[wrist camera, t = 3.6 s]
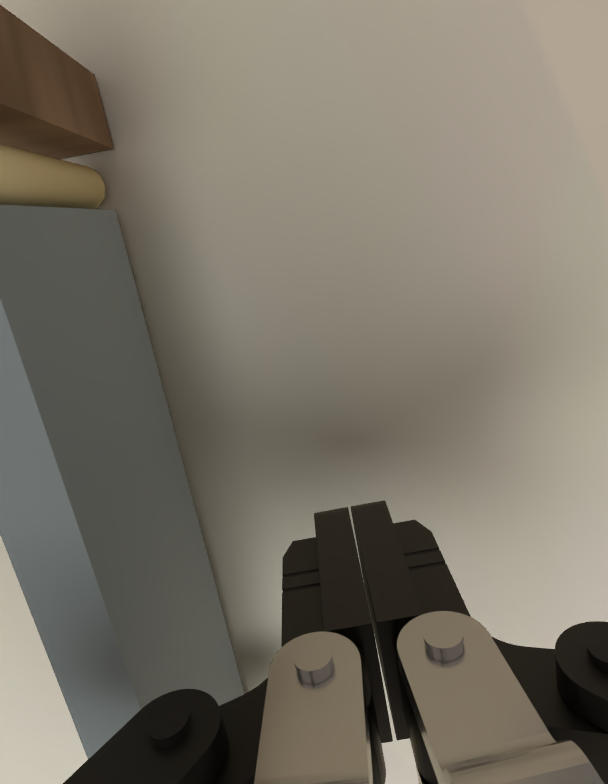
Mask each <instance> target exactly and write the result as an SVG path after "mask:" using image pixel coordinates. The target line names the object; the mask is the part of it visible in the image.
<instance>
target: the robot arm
mask: <svg viewBox="0 0 608 784" xmlns="http://www.w3.org/2000/svg"><path fill="white" fill-rule="evenodd" d="M351 512H352V518H353V523H354V529H355V535H356V540H357V546H358V552H359V558H360V563H361V567H360V563H359V558H358V553H357V548H356V544H355V539H354V534H353V529H352V525H351V520H350V515H349V510H348V507H346V508H340V509H334V510H329V511H323V512H317V513H314V519H315V530H316V537H315V538H309V539H303V540H297V541H293V542H292V544H291V545H290V547H289V548H288V550H287V552H286V553H285V555H284V557H283V578H282V590H283V593H282V648H281V649H280V650H279V651H278V652H277V653H276V655H275V656H274V658H273V660H272V662H271V665H270V669H269V675H268V678H267V679H266V680H265V681H263V682H262V683H261V684H260V685H259V686H257V687H256V688H254V689H253V690H251V691H250V692H248V693H246V694H244V695H242V696H240V697H237V698H235V699H233V700H231V701H229V702H226V703H224V704H222V705H220V706H218V704H217V702H216V700H215V699H214V698H213V697H212V696H211V695H209V694H208V693H206V692H204V691H201V690H197V689H180V690H176V691H172V692H169V693H166V694H164V695H162V696H160V697H158V698H156V699H154V700H153V701H151V702H150V703H148V704H147V705H146V706H144V707H143V708H142V709H141V710H140V711H139V712H138V713H137V714H136V715H135V716H133V717H132V718H131V719H130V720H129V721H128V722H127V723H126V724H125V725H124V726H123V727H122V728H121V729H120V730H119V731H118V732H117V733H116V734H115V735H114V736H112V737H111V738H110V739H109V740H108V741H107V742H106V743H105V744H104V745H103V746H102V747H101V748H100V749H99V750H98V751H97V752H96V753H95V754H94V755H93V756H91V757H90V758H89V759H88V760H87V761H86V762H85V763H84V764H83V765H82V766H81V767H80V768H79V769H78V770H77V771H76V772H75V773H74V774H73V775H72V776H70V777H69V778H68V779H67V780H66V781H65V782H64V783H63V784H384V783H385V778H386V769H385V762H384V756H383V751H382V745H381V743H385V742H391V741H393V739H392V733H391V728H390V722H389V716H388V711H387V705H386V699H385V693H384V688H383V682H382V676H381V671H380V665H379V659H378V653H379V658H380V662H381V667H382V672H383V677H384V681H385V686H386V691H387V696H388V700H389V705H390V710H391V715H392V719H393V724H394V729H395V734H396V738H397V740H401V739H407V738H410V740H411V744H412V749H413V753H414V757H415V762H416V768H417V774H418V781H419V784H608V622H596V621H595V622H585V623H581V624H577V625H574V626H572V627H570V628H568V629H567V630H565V631H564V632H563V633H562V634H561V635H560V636H559V638H558V639H557V642H556V645H555V649H545V648H534V647H524V646H517V645H512V644H508V643H505V642H503V641H500V640H497V639H495V638H493V637H491V635H490V634H489V632H488V631H487V629H486V628H485V627H484V626H483V625H482V624H481V623H480V622H478V621H477V620H475V619H473V618H471V616H470V614H469V612H468V610H467V608H466V606H465V603H464V601H463V599H462V597H461V595H460V593H459V590H458V588H457V586H456V584H455V582H454V580H453V577H452V575H451V573H450V571H449V569H448V567H447V564H445V560H444V558H443V556H442V554H441V551H439V547H438V545H437V543H436V541H435V538H434V536H433V534H432V532H431V531H430V530H428V529H427V528H426V527H424V526H423V525H422V524H420V523H419V522H417V521H416V520H411V521H405V522H399V523H394V524H393V522H392V519H391V517H390V514H389V511H388V508H387V505H386V502H385V501H379V502H373V503H368V504H362V505H356V506H351ZM361 569H362V572H361ZM362 574H363V577H362ZM363 580H364V582H363ZM364 585H365V586H364ZM365 590H366V591H365ZM368 605H369V606H368ZM372 624H373V625H372ZM373 629H374V630H373ZM374 634H375V636H374ZM375 639H376V642H375ZM376 643H377V648H378V653H377V648H376Z"/></svg>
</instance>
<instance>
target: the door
mask: <svg viewBox="0 0 608 784" xmlns="http://www.w3.org/2000/svg"><path fill="white" fill-rule="evenodd" d="M104 196H105V185H104V182H103V180H102V178H101V176H100V175H99V174H98V173H97V172H96V171H95V170H93V169H92V168H89V167H87V166H83V165H79V164H75V163H71V162H67V161H63V160H59V159H56V158H52V157H48V156H44V155H40V154H36V153H32V152H28V151H25V150H21V149H17V148H13V147H9V146H5V145H1V144H0V534H1V537H2V540H3V542H4V545H5V547H6V550H7V552H8V555H9V558H10V560H11V563H12V565H13V568H14V570H15V573H16V575H17V578H18V581H19V583H20V586H21V588H22V591H23V593H24V596H25V599H26V601H27V604H28V606H29V609H30V611H31V614H32V617H33V619H34V622H35V624H36V627H37V629H38V632H39V634H40V637H41V640H42V642H43V645H44V647H45V650H46V652H47V655H48V658H49V660H50V663H51V665H52V668H53V670H54V673H55V676H56V678H57V681H58V683H59V686H60V688H61V691H62V693H63V696H64V699H65V701H66V704H67V706H68V709H69V711H70V714H71V717H72V719H73V722H74V724H75V727H76V729H77V732H78V734H79V737H80V740H81V742H82V745H83V747H84V750H85V752H86V755H87V758H88V759H89V758H90V757H91V756H93V755H94V754H95V753H96V752H97V751H98V750H99V749H100V748H101V747H102V746H103V745H104V744H105V743H106V742H107V741H108V740H109V739H110V738H111V737H112V736H114V735H115V734H116V733H117V732H118V731H119V730H120V729H121V728H122V727H123V726H124V725H125V724H126V723H127V722H128V721H129V720H130V719H131V718H132V717H133V716H135V715H136V714H137V713H138V712H139V711H140V710H141V709H142V708H143V707H144V706H146V705H147V704H148V703H150V702H151V701H153V700H154V699H156V698H158V697H160V696H162V695H164V694H166V693H169V692H172V691H176V690H180V689H197V690H201V691H204V692H206V693H208V694H209V695H211V696H212V697H213V698H214V699H215V700H216V702H217V704H218V706H220V705H222V704H224V703H226V702H229V701H231V700H233V699H235V698H237V697H240V696H242V695H244V694H245V693H244V690H243V686H242V682H241V678H240V675H239V671H238V667H237V663H236V660H235V656H234V652H233V648H232V645H231V641H230V637H229V633H228V630H227V626H226V622H225V618H224V615H223V611H222V607H221V603H220V600H219V596H218V592H217V588H216V585H215V581H214V577H213V573H212V570H211V566H210V562H209V558H208V555H207V551H206V547H205V543H204V540H203V536H202V532H201V529H200V525H199V521H198V517H197V514H196V510H195V506H194V502H193V499H192V495H191V491H190V487H189V484H188V480H187V476H186V472H185V469H184V465H183V461H182V457H181V454H180V450H179V446H178V442H177V439H176V435H175V431H174V427H173V424H172V420H171V416H170V412H169V409H168V405H167V401H166V397H165V394H164V390H163V386H162V382H161V379H160V375H159V371H158V367H157V364H156V360H155V356H154V352H153V349H152V345H151V341H150V337H149V334H148V330H147V326H146V323H145V319H144V315H143V311H142V308H141V304H140V300H139V296H138V293H137V289H136V285H135V281H134V278H133V274H132V270H131V266H130V263H129V259H128V255H127V251H126V248H125V244H124V240H123V236H122V233H121V229H120V225H119V221H118V218H117V214H116V210H103V209H95V208H97V207H98V206H99V205H100V204H101V203H102V201H103V199H104Z"/></svg>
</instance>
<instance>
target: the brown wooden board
mask: <svg viewBox="0 0 608 784" xmlns="http://www.w3.org/2000/svg"><path fill="white" fill-rule="evenodd" d="M0 144H1V145H5V146H9V147H13V148H17V149H21V150H25V151H28V152H32V153H36V154H40V155H44V156H48V157H52V158H56V159H62V158H67V157H72V156H77V155H83V154H88V153H93V152H98V151H103V150H108V149H114V148H113V144H112V141H111V137H110V133H109V129H108V125H107V121H106V117H105V114H104V110H103V106H102V102H101V98H100V94H99V90H98V87H97V83H96V79H95V75H94V74H93V73H91V72H90V71H89V70H87V69H86V68H85V67H83V66H82V65H81V64H79V63H78V62H77V61H75V60H74V59H73V58H71V57H70V56H68V55H67V54H66V53H64V52H63V51H62V50H60V49H59V48H58V47H56V46H55V45H54V44H52V43H51V42H50V41H48V40H47V39H46V38H44V37H43V36H42V35H40V34H39V33H38V32H36V31H35V30H34V29H32V28H31V27H30V26H28V25H27V24H25V23H24V22H23V21H21V20H20V19H19V18H17V17H16V16H15V15H13V14H12V13H11V12H9V11H8V10H7V9H5V8H4V7H3V6H1V5H0Z"/></svg>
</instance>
